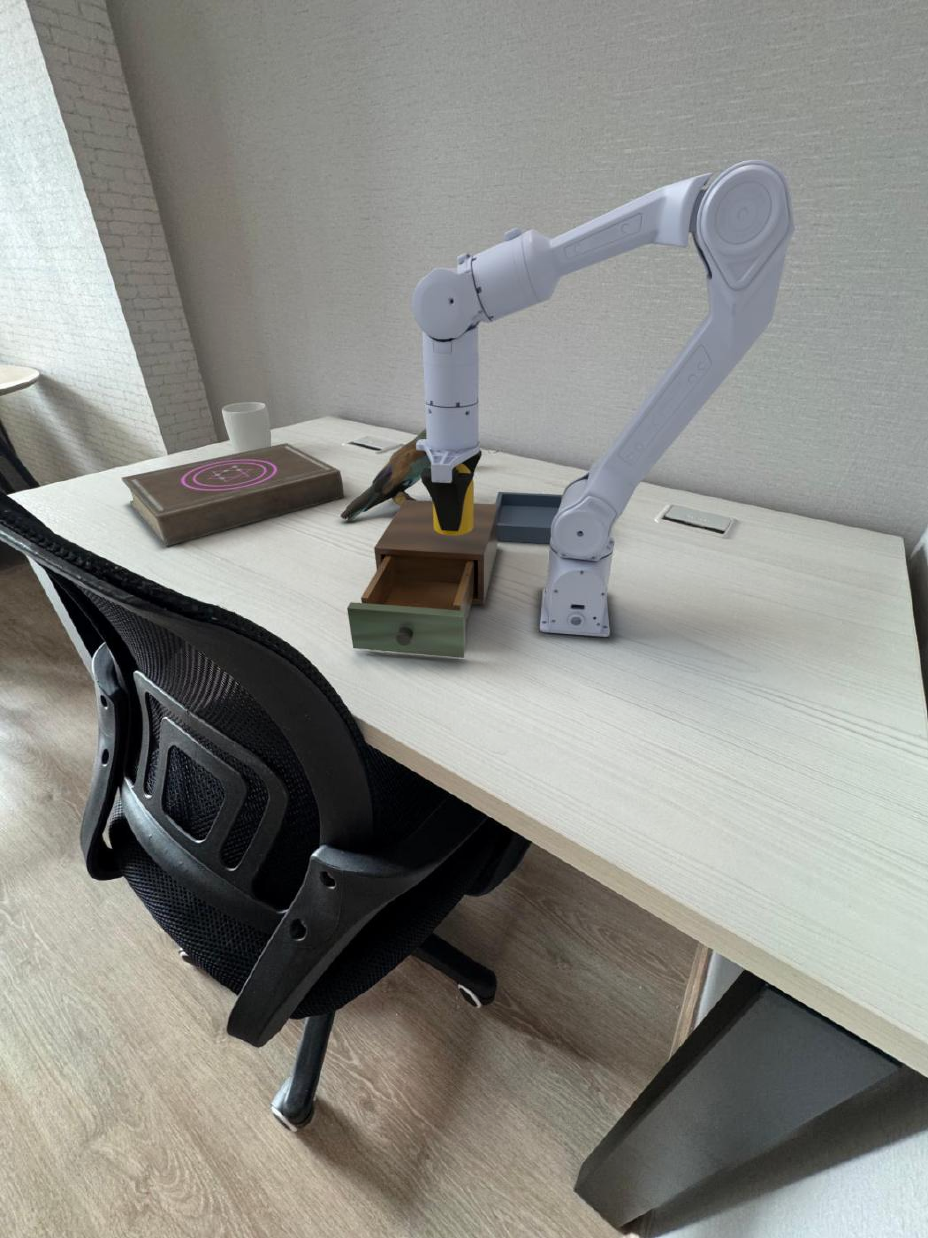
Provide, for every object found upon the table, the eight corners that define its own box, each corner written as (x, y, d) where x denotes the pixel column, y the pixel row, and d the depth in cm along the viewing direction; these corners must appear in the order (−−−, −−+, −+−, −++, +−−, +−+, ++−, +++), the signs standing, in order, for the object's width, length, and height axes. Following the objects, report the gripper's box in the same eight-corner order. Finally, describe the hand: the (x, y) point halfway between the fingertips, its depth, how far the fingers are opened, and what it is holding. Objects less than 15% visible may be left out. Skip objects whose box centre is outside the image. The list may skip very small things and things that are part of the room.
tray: (592, 546, 84) (594, 530, 83) (488, 540, 86) (488, 524, 85) (589, 510, 95) (591, 495, 94) (498, 506, 97) (498, 491, 96)
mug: (281, 455, 122) (272, 407, 116) (240, 464, 118) (228, 414, 112) (261, 442, 130) (251, 396, 125) (222, 449, 126) (210, 403, 121)
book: (291, 467, 116) (287, 442, 113) (345, 497, 101) (341, 470, 98) (131, 504, 100) (121, 477, 97) (167, 547, 85) (156, 516, 82)
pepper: (470, 536, 65) (470, 460, 60) (430, 534, 66) (426, 458, 61) (475, 520, 69) (476, 447, 64) (437, 518, 70) (435, 445, 65)
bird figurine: (352, 530, 88) (403, 407, 83) (330, 510, 95) (375, 396, 90) (420, 552, 96) (469, 441, 92) (395, 533, 103) (439, 429, 99)
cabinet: (483, 605, 71) (484, 554, 67) (379, 597, 73) (373, 547, 69) (497, 549, 83) (498, 504, 80) (408, 544, 85) (404, 499, 81)
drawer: (462, 665, 59) (461, 623, 56) (349, 654, 61) (343, 614, 58) (481, 589, 72) (481, 552, 69) (388, 582, 74) (384, 546, 71)
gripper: (428, 385, 66) (432, 495, 74) (398, 417, 54) (407, 544, 62) (487, 387, 65) (486, 498, 73) (470, 420, 53) (470, 548, 61)
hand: (453, 520), depth 67 cm, fingers closed on pepper, 5 cm apart
